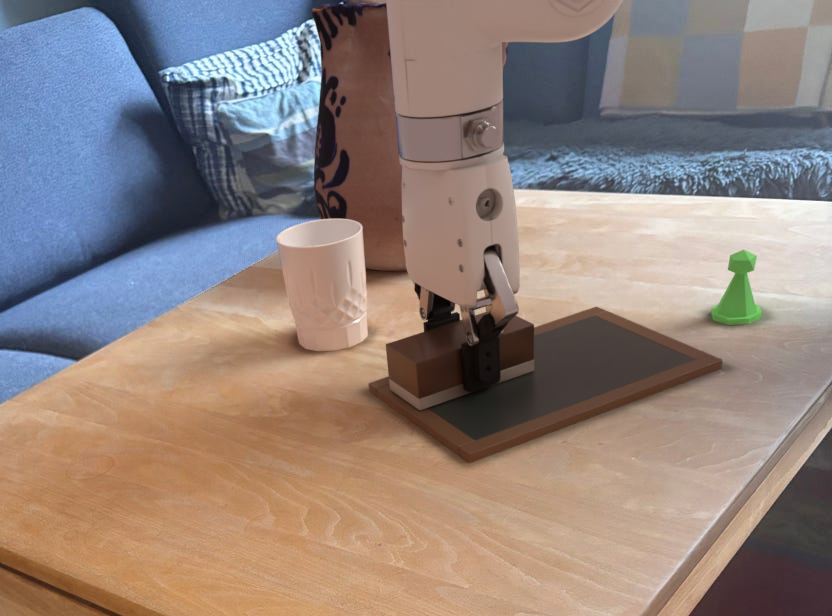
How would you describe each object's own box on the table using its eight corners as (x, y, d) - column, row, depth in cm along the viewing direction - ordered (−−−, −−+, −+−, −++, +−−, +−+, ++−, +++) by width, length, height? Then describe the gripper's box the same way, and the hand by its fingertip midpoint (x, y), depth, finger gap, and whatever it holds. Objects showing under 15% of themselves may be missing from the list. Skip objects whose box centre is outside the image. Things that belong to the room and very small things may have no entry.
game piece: (753, 330, 84) (763, 260, 80) (702, 325, 86) (710, 256, 82) (767, 312, 86) (778, 242, 82) (718, 307, 88) (726, 239, 85)
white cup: (327, 363, 89) (310, 252, 83) (277, 343, 94) (258, 238, 88) (391, 334, 93) (380, 226, 86) (339, 317, 98) (326, 213, 91)
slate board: (596, 316, 90) (596, 306, 89) (721, 371, 78) (723, 359, 78) (369, 393, 83) (367, 382, 83) (470, 466, 72) (469, 454, 71)
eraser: (500, 352, 84) (499, 307, 81) (534, 371, 80) (534, 323, 78) (389, 390, 81) (385, 343, 78) (419, 410, 77) (415, 363, 75)
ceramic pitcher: (309, 253, 115) (273, 3, 99) (477, 217, 118) (467, -31, 102) (347, 299, 101) (312, 18, 86) (535, 257, 104) (535, -21, 88)
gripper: (567, 140, 64) (562, 396, 75) (434, 108, 76) (447, 332, 88) (470, 166, 62) (480, 425, 73) (349, 129, 74) (374, 356, 85)
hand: (462, 372), depth 80 cm, fingers closed on eraser, 5 cm apart
